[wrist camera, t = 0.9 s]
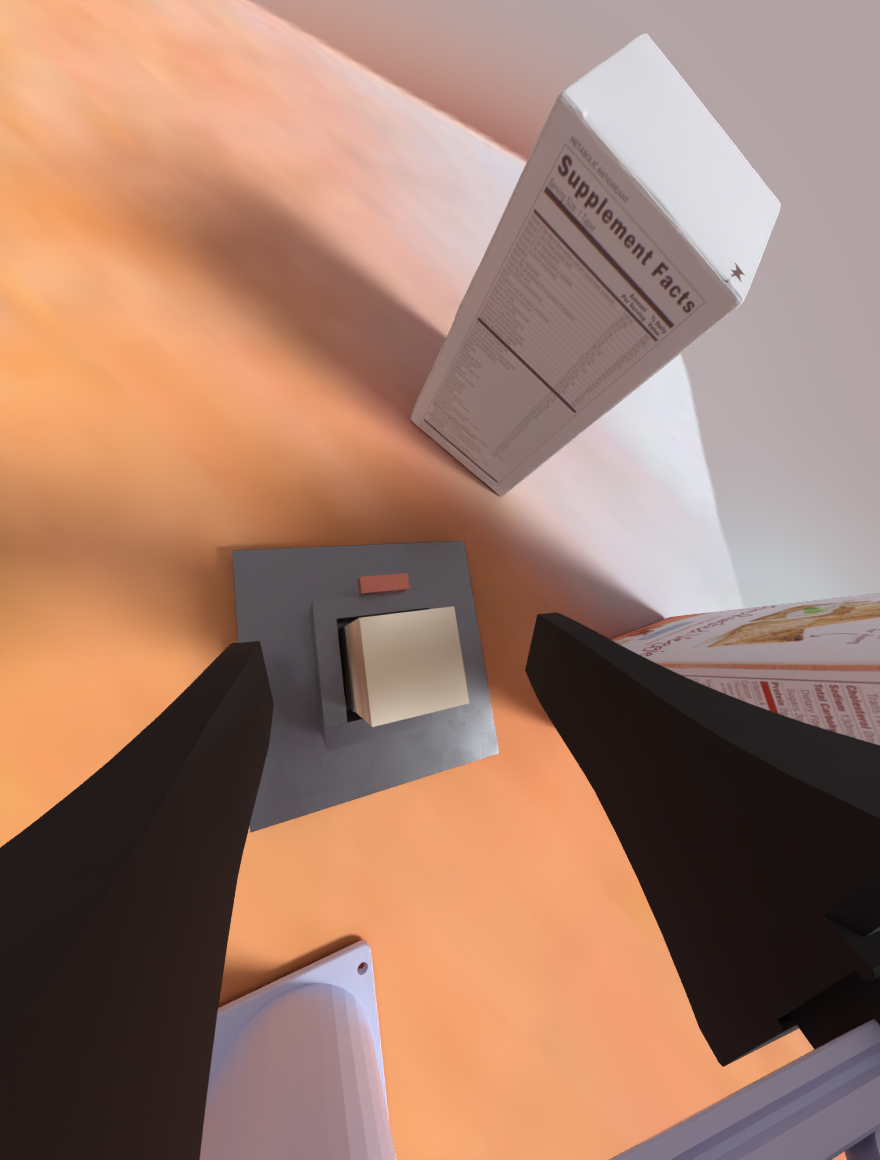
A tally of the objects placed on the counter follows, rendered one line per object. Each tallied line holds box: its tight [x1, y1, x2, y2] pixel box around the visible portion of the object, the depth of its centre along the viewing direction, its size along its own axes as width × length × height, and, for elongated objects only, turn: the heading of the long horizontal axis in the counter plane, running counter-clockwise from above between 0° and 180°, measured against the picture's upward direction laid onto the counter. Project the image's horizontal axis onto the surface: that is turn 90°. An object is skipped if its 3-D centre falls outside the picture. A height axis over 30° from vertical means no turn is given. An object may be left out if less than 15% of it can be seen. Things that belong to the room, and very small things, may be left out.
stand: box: [232, 541, 499, 833], centre depth 19 cm, size 14×14×5 cm
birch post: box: [338, 606, 469, 727], centre depth 17 cm, size 4×4×7 cm
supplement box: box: [410, 33, 781, 496], centre depth 21 cm, size 10×9×17 cm
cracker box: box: [610, 593, 880, 745], centre depth 19 cm, size 14×6×21 cm, turn 104°
